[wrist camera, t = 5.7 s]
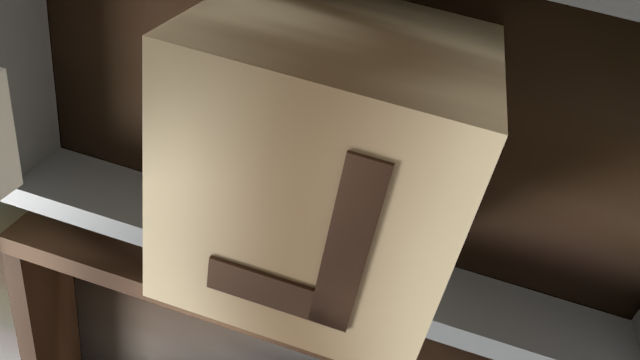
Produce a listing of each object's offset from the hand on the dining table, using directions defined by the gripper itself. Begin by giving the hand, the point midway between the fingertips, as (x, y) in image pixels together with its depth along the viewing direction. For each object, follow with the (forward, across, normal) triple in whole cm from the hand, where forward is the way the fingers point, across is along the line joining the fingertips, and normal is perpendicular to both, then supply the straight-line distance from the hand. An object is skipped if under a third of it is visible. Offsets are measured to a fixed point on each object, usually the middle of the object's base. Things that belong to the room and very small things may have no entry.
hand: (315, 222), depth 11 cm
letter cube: (+6, 0, 0) cm, 6 cm away
